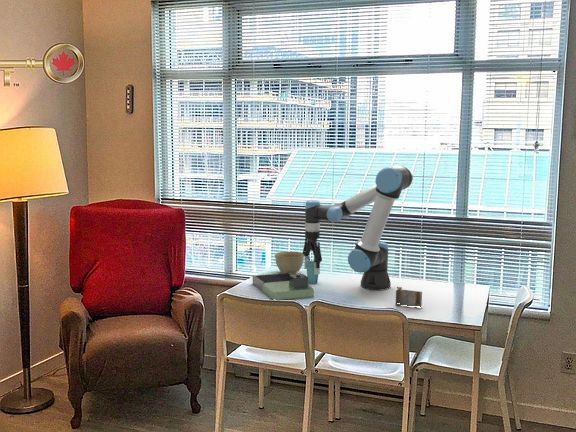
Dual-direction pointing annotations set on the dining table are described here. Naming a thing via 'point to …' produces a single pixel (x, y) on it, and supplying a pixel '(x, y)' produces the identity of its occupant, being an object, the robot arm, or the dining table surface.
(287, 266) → the planter bowl
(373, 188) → the robot arm
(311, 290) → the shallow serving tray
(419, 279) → the dining table surface
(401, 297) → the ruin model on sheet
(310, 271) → the cup
